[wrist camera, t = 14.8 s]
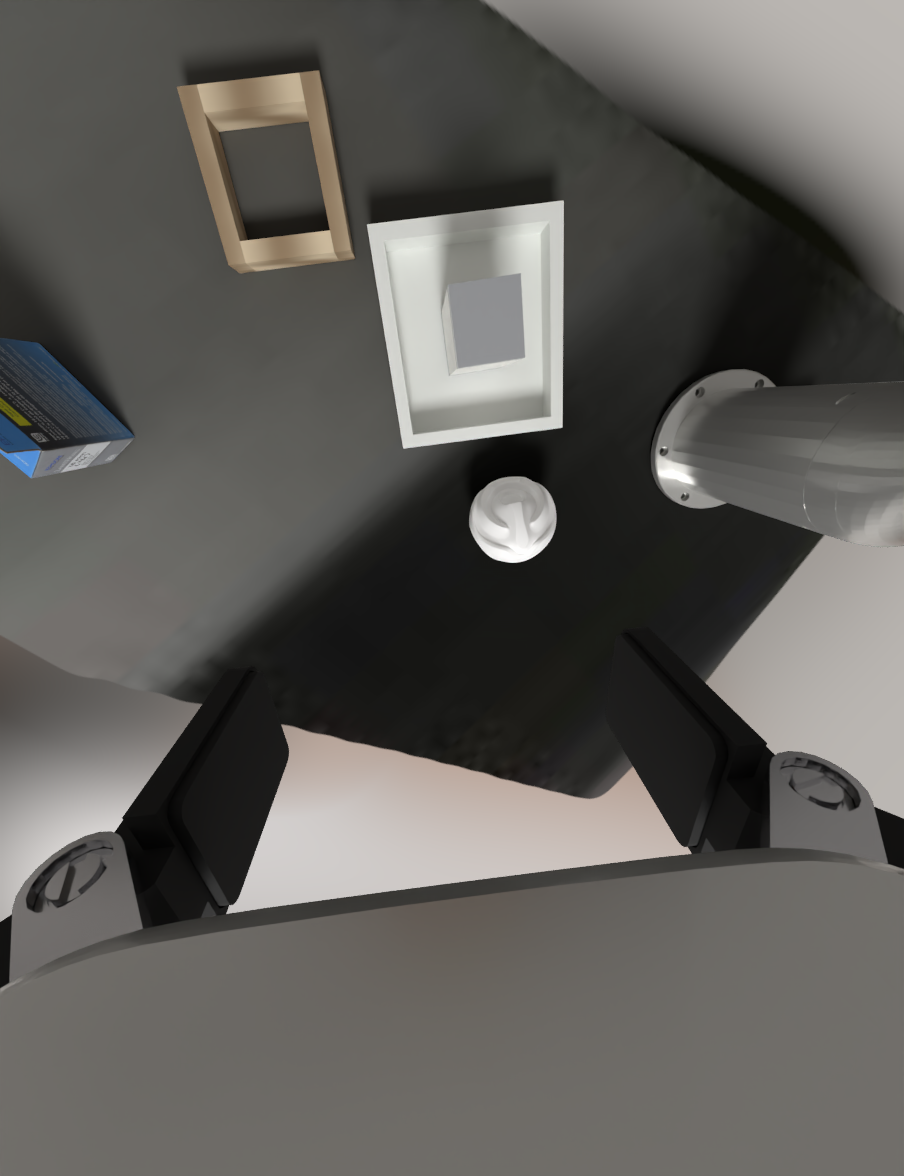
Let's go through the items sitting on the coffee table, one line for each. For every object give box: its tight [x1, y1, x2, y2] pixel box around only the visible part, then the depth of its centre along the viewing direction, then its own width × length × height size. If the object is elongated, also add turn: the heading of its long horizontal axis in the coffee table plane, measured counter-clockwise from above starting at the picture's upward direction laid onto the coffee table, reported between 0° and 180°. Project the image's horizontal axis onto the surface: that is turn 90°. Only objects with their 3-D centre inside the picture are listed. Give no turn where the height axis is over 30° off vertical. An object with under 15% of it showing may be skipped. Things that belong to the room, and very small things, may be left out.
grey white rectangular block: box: [441, 273, 525, 376], centre depth 29 cm, size 4×4×9 cm
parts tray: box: [367, 200, 564, 449], centre depth 32 cm, size 14×15×3 cm
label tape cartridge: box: [0, 338, 135, 478], centre depth 28 cm, size 9×4×12 cm, turn 36°
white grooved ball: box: [469, 477, 556, 563], centre depth 37 cm, size 8×8×8 cm
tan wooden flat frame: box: [177, 70, 355, 273], centre depth 28 cm, size 9×9×2 cm
